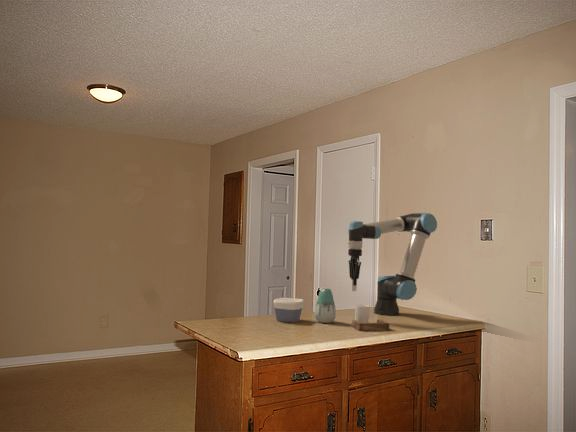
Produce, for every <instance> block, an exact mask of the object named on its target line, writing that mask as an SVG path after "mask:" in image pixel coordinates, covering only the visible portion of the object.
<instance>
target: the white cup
mask: <svg viewBox="0 0 576 432" xmlns="http://www.w3.org/2000/svg"><path fill="white" fill-rule="evenodd" d="M370 308H371V307H370V305H368V304H361V303H360V304H359V303H358V304H354V317H355V318H354V320H357V321H359V322H361V323H369V320H370Z"/></svg>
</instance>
